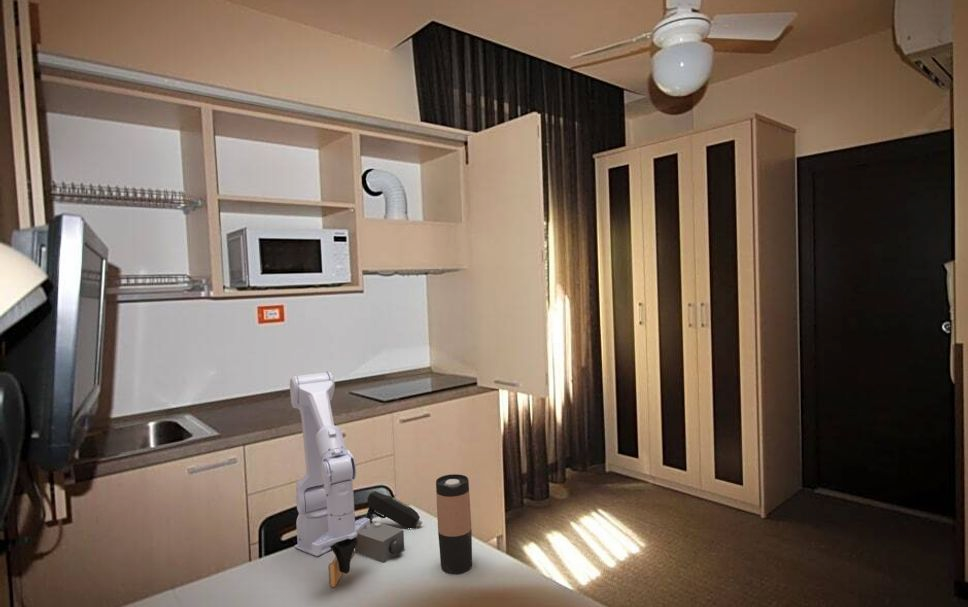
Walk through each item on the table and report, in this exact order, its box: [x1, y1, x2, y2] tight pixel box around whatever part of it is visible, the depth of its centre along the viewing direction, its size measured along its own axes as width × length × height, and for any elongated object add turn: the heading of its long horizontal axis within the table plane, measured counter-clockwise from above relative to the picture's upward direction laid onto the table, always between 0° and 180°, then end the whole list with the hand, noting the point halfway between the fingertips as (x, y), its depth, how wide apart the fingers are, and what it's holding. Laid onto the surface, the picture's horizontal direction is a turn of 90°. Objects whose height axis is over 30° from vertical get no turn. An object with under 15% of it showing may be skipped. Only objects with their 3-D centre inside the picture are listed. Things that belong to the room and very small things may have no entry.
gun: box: [366, 491, 423, 530], centre depth 146 cm, size 3×16×10 cm, turn 79°
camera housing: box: [354, 521, 405, 563], centre depth 132 cm, size 12×7×6 cm, turn 54°
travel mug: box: [435, 473, 473, 575], centre depth 123 cm, size 8×8×20 cm
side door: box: [327, 550, 355, 588], centre depth 125 cm, size 15×1×5 cm, turn 178°
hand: (344, 571), depth 119 cm, fingers closed
